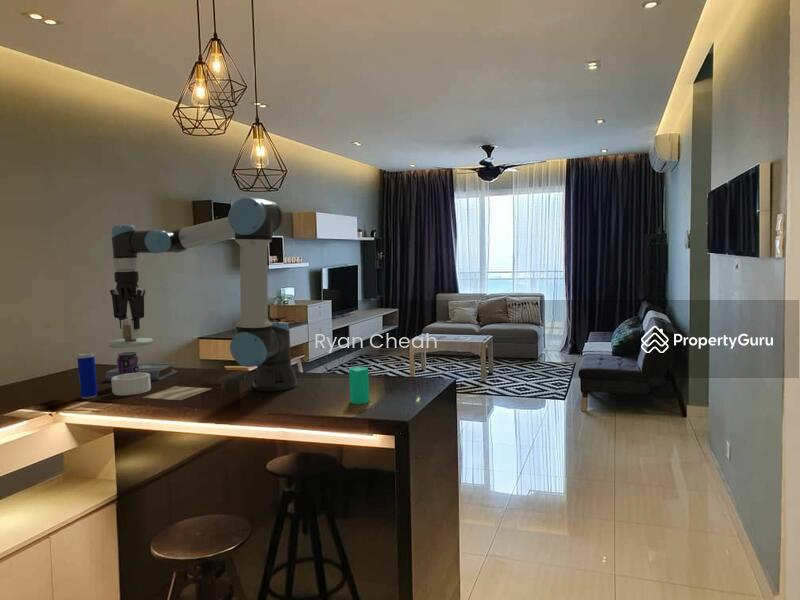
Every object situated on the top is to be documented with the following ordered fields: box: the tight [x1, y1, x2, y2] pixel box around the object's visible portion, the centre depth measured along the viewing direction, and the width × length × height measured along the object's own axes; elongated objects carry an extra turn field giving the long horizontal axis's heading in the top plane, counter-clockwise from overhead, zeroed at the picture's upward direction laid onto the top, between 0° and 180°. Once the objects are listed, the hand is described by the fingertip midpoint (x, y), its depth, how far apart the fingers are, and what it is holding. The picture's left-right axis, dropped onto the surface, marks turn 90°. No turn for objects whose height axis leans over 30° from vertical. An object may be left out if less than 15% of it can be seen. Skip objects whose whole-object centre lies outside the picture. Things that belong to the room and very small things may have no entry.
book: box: [104, 361, 178, 382], centre depth 237 cm, size 21×16×5 cm
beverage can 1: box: [76, 352, 98, 400], centre depth 204 cm, size 5×5×15 cm
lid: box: [107, 323, 154, 349], centre depth 207 cm, size 14×14×7 cm
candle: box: [348, 363, 370, 405], centre depth 185 cm, size 6×6×12 cm
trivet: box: [141, 385, 213, 401], centre depth 203 cm, size 16×16×1 cm
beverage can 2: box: [116, 351, 139, 375], centre depth 221 cm, size 7×7×12 cm
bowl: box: [110, 372, 152, 396], centre depth 209 cm, size 12×12×6 cm
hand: (130, 338), depth 207 cm, fingers closed on lid, 4 cm apart
